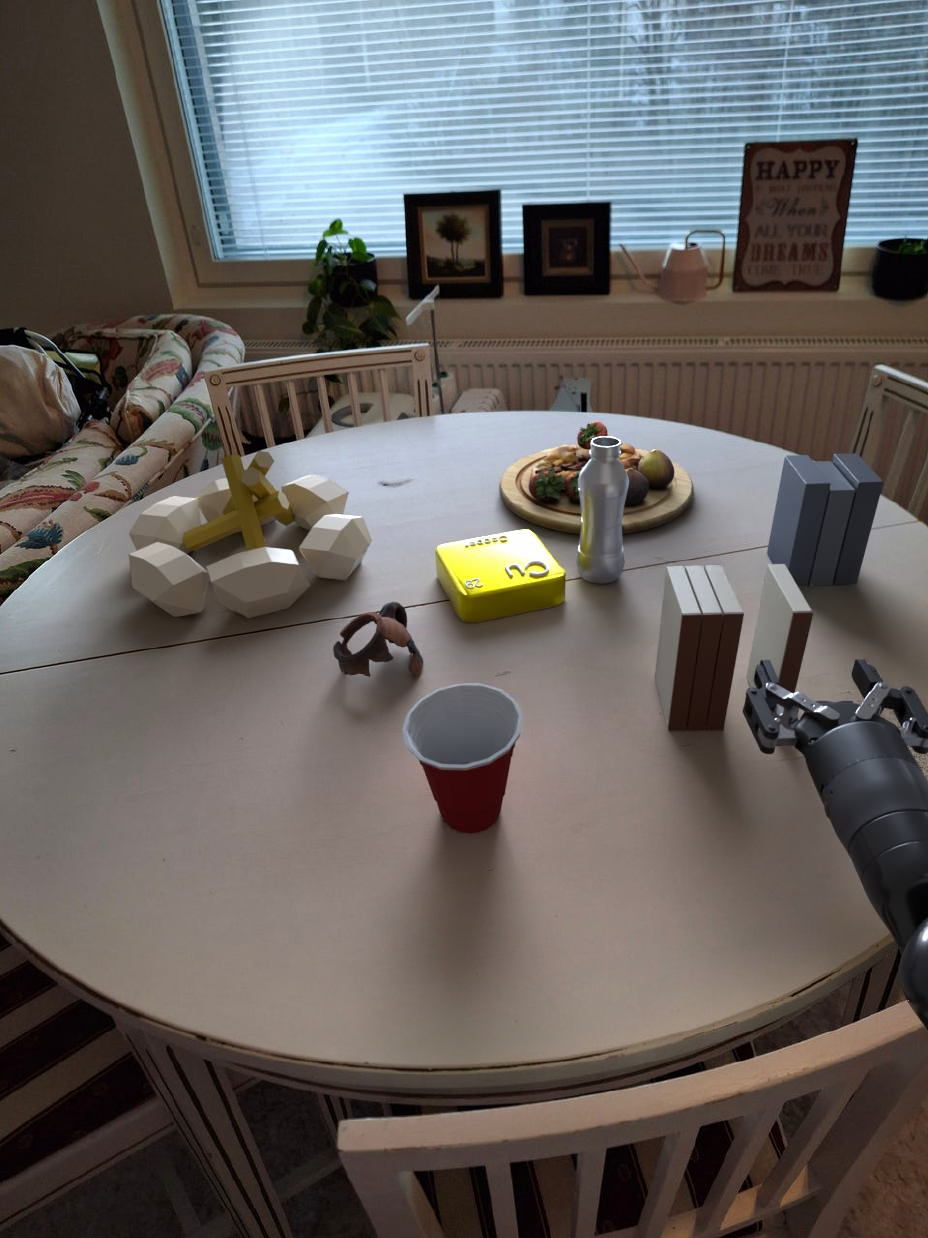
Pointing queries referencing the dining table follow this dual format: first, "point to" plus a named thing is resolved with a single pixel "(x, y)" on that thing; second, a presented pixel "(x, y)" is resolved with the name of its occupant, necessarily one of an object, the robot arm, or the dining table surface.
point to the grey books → (824, 518)
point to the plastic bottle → (602, 512)
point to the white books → (697, 647)
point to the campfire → (260, 571)
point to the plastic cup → (465, 750)
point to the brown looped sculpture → (377, 641)
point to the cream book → (781, 628)
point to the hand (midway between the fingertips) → (809, 666)
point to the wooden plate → (552, 493)
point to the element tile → (499, 575)
